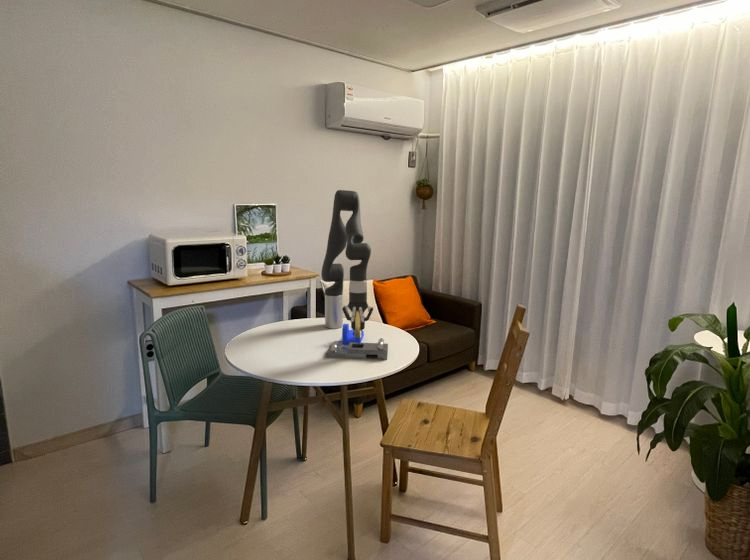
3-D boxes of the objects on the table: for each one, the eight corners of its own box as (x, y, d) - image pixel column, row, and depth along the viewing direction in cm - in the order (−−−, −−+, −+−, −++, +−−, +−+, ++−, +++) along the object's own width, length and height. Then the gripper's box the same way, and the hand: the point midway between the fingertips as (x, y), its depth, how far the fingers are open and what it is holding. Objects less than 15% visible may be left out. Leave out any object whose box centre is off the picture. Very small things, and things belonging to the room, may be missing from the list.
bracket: (360, 345, 203) (360, 326, 202) (342, 344, 204) (342, 326, 202) (364, 333, 221) (364, 316, 219) (348, 333, 222) (348, 315, 220)
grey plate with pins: (329, 350, 196) (329, 336, 195) (387, 352, 195) (388, 338, 194) (325, 357, 188) (325, 342, 186) (387, 359, 186) (387, 345, 185)
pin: (354, 335, 191) (354, 308, 189) (361, 335, 191) (361, 308, 189) (354, 337, 188) (354, 310, 186) (361, 337, 188) (361, 310, 186)
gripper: (375, 289, 189) (374, 327, 192) (342, 288, 190) (342, 326, 193) (374, 292, 182) (373, 333, 185) (340, 291, 183) (340, 331, 186)
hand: (357, 329), depth 189 cm, fingers closed on pin, 3 cm apart
